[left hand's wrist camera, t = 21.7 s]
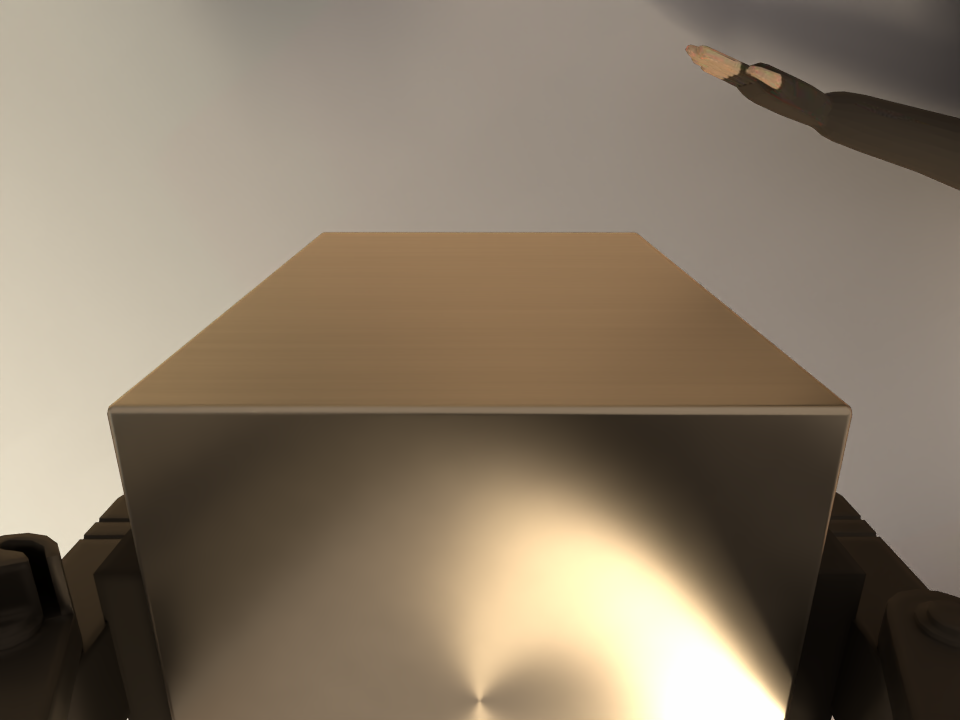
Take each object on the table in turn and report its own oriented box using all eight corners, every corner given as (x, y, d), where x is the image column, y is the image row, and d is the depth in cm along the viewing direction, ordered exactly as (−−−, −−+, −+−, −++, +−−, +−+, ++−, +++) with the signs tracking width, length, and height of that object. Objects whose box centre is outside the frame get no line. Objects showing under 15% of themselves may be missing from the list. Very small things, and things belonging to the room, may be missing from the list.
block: (615, 509, 18) (749, 910, 9) (344, 509, 18) (209, 910, 9) (637, 231, 15) (857, 408, 6) (321, 231, 15) (102, 407, 6)
